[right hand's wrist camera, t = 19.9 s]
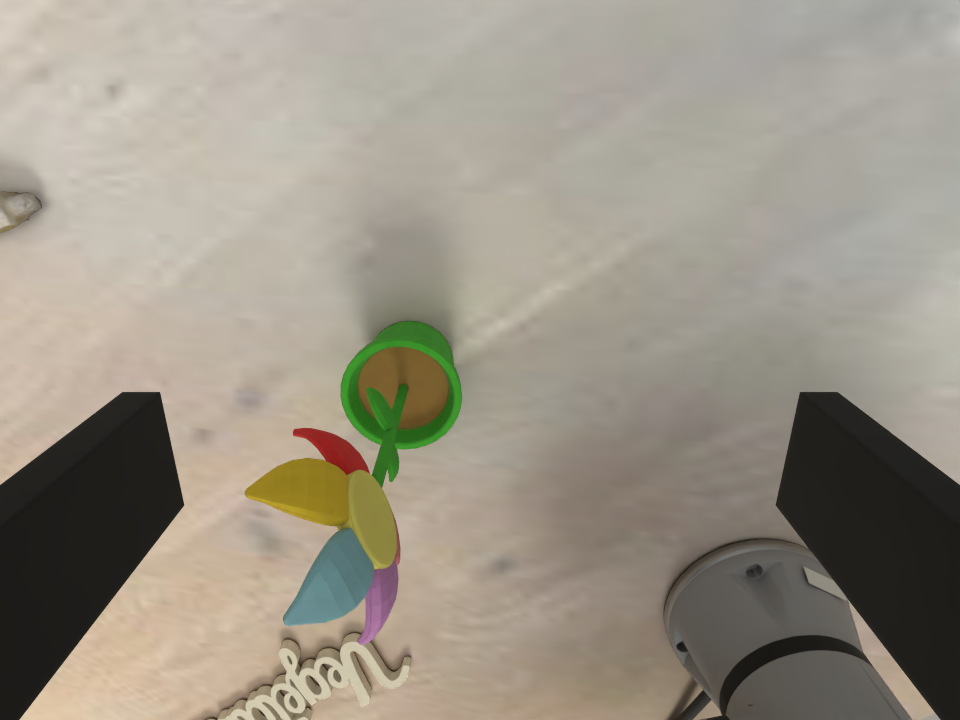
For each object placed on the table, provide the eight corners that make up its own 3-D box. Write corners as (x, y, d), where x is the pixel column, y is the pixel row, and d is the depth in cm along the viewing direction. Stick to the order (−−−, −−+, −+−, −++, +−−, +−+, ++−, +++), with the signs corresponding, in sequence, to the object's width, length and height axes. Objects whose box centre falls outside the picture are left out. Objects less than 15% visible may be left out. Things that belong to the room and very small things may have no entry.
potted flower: (337, 326, 44) (178, 556, 21) (435, 286, 43) (383, 481, 20) (393, 431, 47) (309, 732, 24) (486, 397, 46) (492, 677, 23)
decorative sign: (347, 608, 53) (419, 676, 56) (349, 600, 53) (420, 667, 56) (142, 734, 58) (217, 789, 61) (147, 725, 59) (220, 780, 62)
